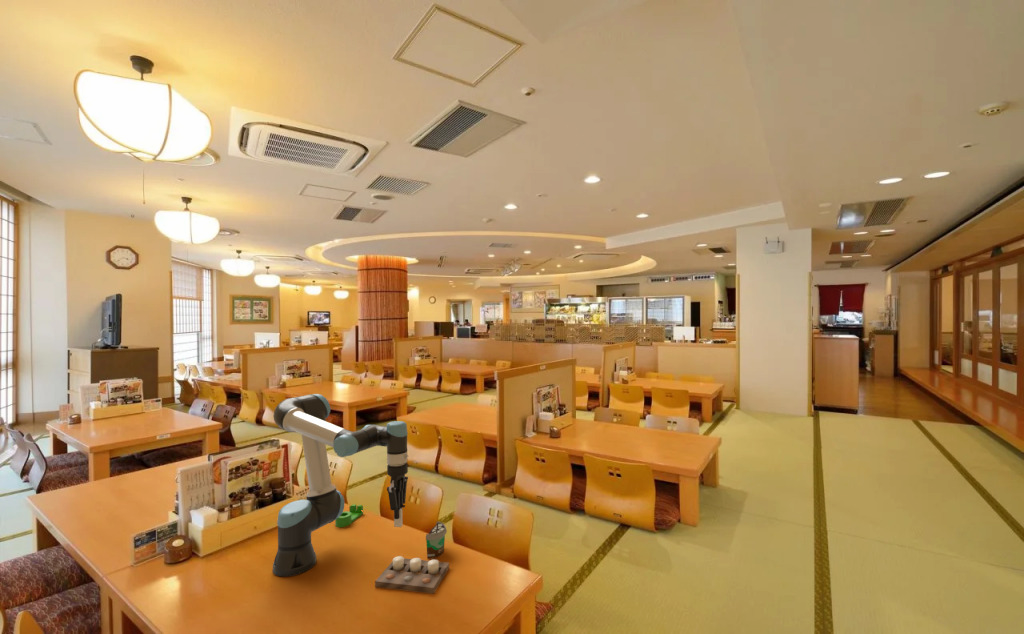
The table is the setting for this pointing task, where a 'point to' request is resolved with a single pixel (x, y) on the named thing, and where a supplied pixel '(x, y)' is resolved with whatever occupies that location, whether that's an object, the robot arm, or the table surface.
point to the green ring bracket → (349, 516)
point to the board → (412, 578)
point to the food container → (436, 540)
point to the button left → (398, 563)
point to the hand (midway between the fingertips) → (398, 525)
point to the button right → (433, 567)
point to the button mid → (415, 565)
